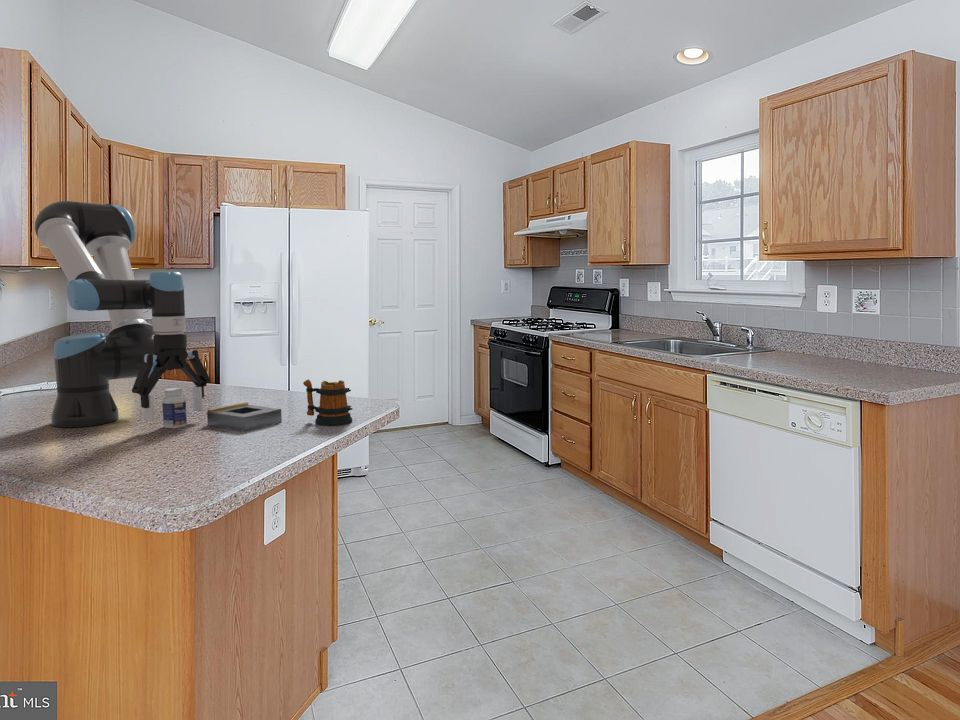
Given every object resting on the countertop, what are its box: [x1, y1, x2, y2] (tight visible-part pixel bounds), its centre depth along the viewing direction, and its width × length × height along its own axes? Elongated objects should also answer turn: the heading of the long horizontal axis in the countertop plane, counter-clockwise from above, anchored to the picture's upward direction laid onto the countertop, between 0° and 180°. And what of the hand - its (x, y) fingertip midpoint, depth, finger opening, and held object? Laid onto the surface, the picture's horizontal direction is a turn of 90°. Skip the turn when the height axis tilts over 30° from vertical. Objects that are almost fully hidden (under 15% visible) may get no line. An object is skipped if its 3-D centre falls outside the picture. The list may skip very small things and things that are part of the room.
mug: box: [302, 379, 353, 427], centre depth 163 cm, size 13×10×12 cm
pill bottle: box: [161, 387, 187, 429], centre depth 158 cm, size 5×5×10 cm
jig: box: [206, 401, 283, 432], centre depth 162 cm, size 14×12×4 cm
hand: (175, 415), depth 158 cm, fingers open, 13 cm apart
